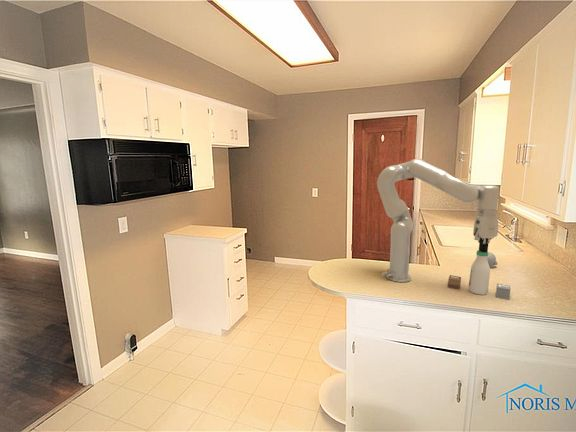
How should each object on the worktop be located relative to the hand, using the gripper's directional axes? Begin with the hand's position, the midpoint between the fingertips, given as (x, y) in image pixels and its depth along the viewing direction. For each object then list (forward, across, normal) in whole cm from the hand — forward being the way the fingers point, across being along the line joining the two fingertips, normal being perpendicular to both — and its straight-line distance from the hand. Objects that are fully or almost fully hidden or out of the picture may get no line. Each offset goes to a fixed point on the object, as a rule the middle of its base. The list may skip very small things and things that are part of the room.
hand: (483, 251), depth 139 cm
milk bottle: (+20, 0, 0) cm, 20 cm away
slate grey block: (+20, +6, -7) cm, 22 cm away
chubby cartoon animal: (+20, +33, +24) cm, 46 cm away
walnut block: (+20, -6, +8) cm, 23 cm away
